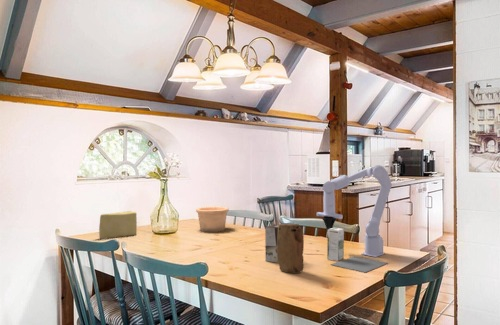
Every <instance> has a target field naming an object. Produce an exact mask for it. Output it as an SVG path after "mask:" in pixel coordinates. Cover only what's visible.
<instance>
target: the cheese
mask: <svg viewBox="0 0 500 325" xmlns="http://www.w3.org/2000/svg"><path fill="white" fill-rule="evenodd" d="M137 223H138V222H137V212H136V211H132V210H129V211H120V212H113V213H112V212H111V213H102V214H101V215H100V217H99V225H98V226H99V229H98V230H99V232H98V233H99V236H98V237H99V239H100V240H104V239H105V240H106V239H113V238H114V239H115V238H120V237H131V236H137V234H138V233H137V232H138V230H137V229H138V228H137Z"/></svg>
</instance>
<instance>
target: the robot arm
mask: <svg viewBox="0 0 500 325" xmlns="http://www.w3.org/2000/svg"><path fill="white" fill-rule="evenodd" d="M372 176H373V178H375V179H376V180H377V181H378V182H379V184H380V188H379V192H378V194H377V197H376V201H375V203H374V207H373V211H372V213H371V215H370V216H371V217H370V219H369V221H367V223H366V224H365V234H364V252H361V255H363V256H368V257H369V256H370V257H374V258H376V257H381V256H382V255H385V254H386V253H385V252H384V240H383V237H382V236H381V235H380V224H381V220H382V216H383V214H384V210H385V208H386V204H387V201H388V198H389V195H390V192H391V190H392V181H391V177H390V175H389V172H388V170H387V169H386V168H385V167H384V166H382V165H380V164H377V165H374V166H370V167H366V168H364V169H360V170H359V171H356V172H354V173H352V174H350V175H346V174H340V175H339V176H338V177H336V178H334V179H333V178H331V179H330V180H328V181H327V180H326V181H325V182H324V184H323V185H322V189H323V199H322V200H323V201H322V202H323V203H322V204H323V211H321V212H320V211H316V217H323V218H322V221H323V223H324V225H325V228H326V231H327V233H328V229H331V228H334V227H333V226H334V224H335V223H336V220H337V219H339V220H343V214H340V213H336V196H335V190H338V191H339V190H340V189H343V188H346V187H349V185H350V183H351V182H354V181H356V180H359V179H361V178H364V177H370V178H371V177H372Z"/></svg>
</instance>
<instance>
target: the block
mask: <svg viewBox="0 0 500 325" xmlns="http://www.w3.org/2000/svg"><path fill="white" fill-rule="evenodd" d="M304 241H305V240H304V231H303V229H302V227H301V226H300V225H299V223H294V222H293V223H292V222H287V223H279V224H278V236H277V258H278V262H277V264H278V266H279V270H280V271H281V272H285V273H290V274H298V273H302V272H303V271H304V255H303V254H304Z"/></svg>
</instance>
